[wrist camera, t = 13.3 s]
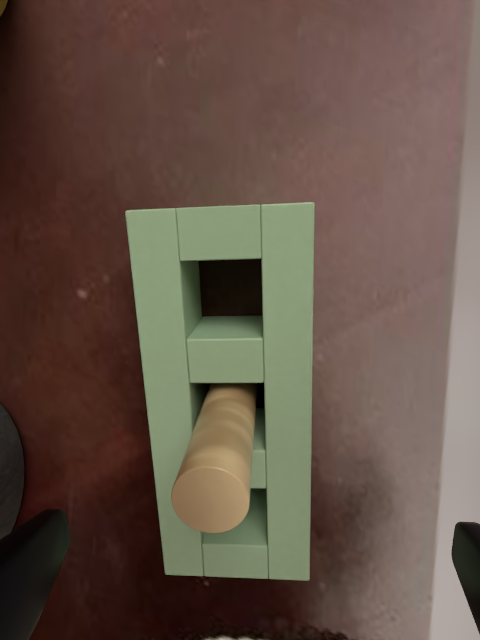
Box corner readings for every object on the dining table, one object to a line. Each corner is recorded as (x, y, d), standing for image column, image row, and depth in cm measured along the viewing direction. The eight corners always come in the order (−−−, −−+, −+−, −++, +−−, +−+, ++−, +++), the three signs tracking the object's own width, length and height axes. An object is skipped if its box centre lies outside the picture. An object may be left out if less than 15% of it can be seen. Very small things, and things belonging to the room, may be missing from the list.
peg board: (304, 207, 17) (314, 202, 13) (302, 518, 22) (309, 581, 18) (155, 213, 18) (124, 210, 14) (182, 514, 22) (164, 575, 18)
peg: (257, 358, 19) (248, 467, 11) (258, 400, 20) (250, 535, 11) (212, 359, 20) (167, 466, 11) (214, 400, 20) (174, 532, 11)
